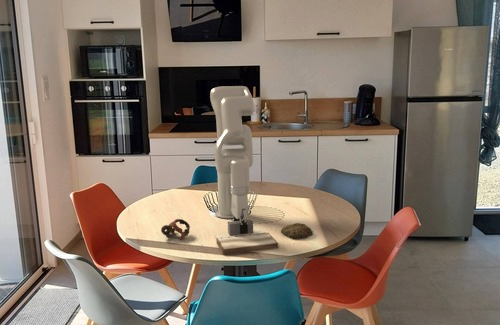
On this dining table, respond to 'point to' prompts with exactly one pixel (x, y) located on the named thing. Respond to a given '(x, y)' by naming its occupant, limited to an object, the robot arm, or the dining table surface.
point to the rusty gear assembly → (176, 228)
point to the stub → (238, 230)
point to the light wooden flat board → (246, 243)
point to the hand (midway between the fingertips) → (240, 229)
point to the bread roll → (296, 231)
